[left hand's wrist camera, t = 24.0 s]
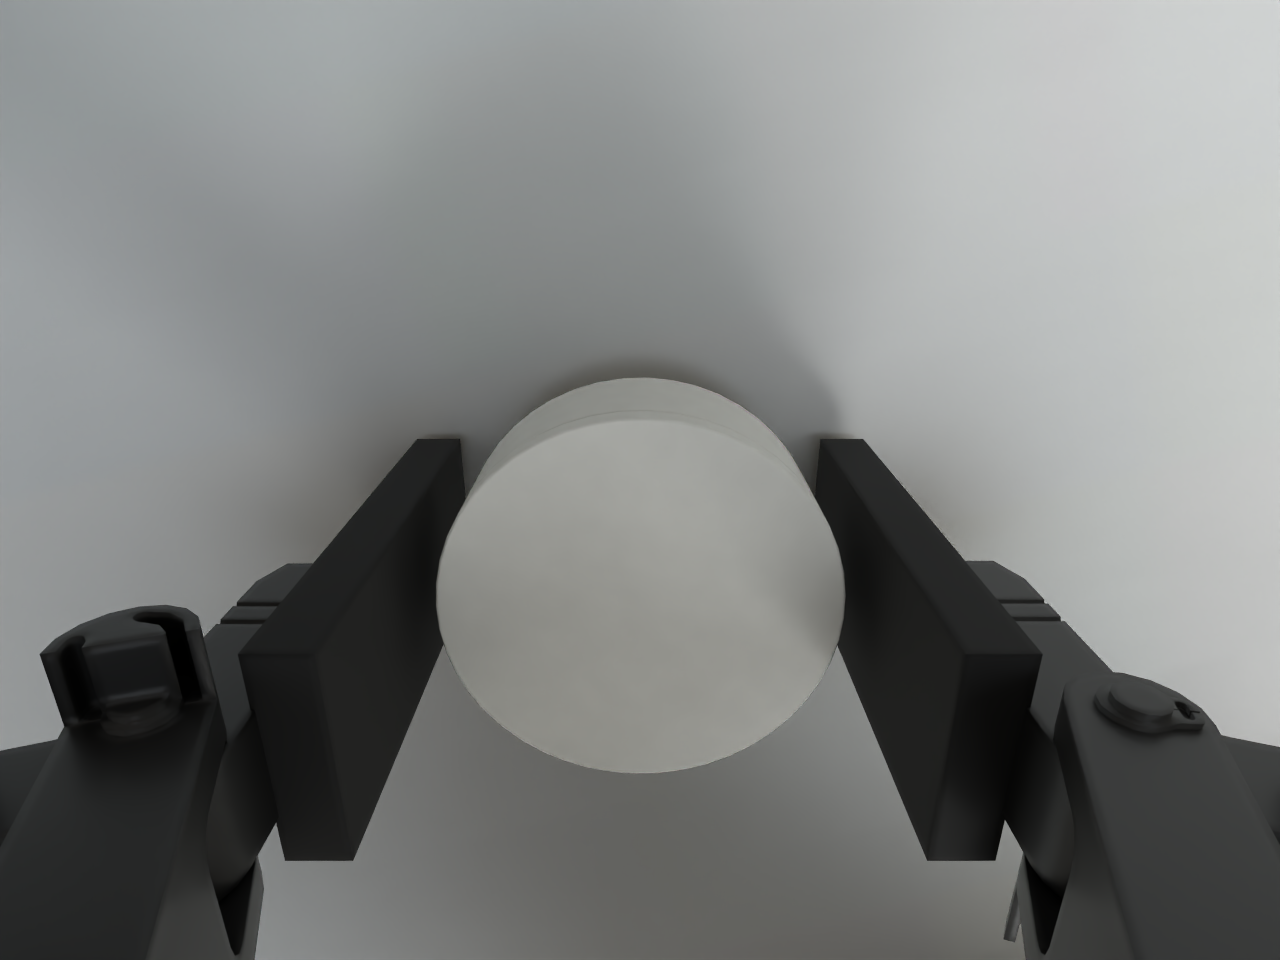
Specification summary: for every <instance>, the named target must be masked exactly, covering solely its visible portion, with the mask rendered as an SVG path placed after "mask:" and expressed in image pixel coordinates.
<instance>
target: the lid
mask: <svg viewBox="0 0 1280 960" xmlns="http://www.w3.org/2000/svg"><path fill="white" fill-rule="evenodd" d="M845 597H846V594H845V580H844V570H843V566H842V562H841V557H840V553H839V549H838V546H837V543H836V541H835V538H834V536H833V533H832V531H831V528H830V526H829V524H828V522H827V520H826V518H825V516H824V515H823V513H822V511H821V509H820V507H819V505H818V503H817V501H816V499H815V498H814V496H813V494H812V492H811V490H810V488H809V486H808V484H807V483H806V481H805V479H804V477H803V475H802V473H801V471H800V470H799V468H798V466H797V464H796V463H795V461H794V459H793V457H792V456H791V454H790V452H789V451H788V450H787V449H786V447H785V446H784V445H783V443H782V442H781V441H780V440H779V438H778V437H777V436H776V435H775V434H774V433H773V432H772V431H771V430H770V429H769V428H768V427H767V426H766V425H765V424H764V423H763V422H762V421H761V420H760V419H758V418H757V417H756V416H754V415H753V414H751V413H750V412H749V411H747V410H746V409H744V408H743V407H742V406H740V405H739V404H737V403H735V402H733V401H731V400H729V399H727V398H725V397H723V396H722V395H720V394H717V393H715V392H712V391H709V390H707V389H704V388H701V387H699V386H696V385H692V384H687V383H683V382H679V381H674V380H667V379H657V378H621V379H615V380H608V381H602V382H597V383H593V384H590V385H587V386H583V387H580V388H577V389H574V390H571V391H569V392H567V393H565V394H562V395H560V396H558V397H556V398H553V399H551V400H550V401H548V402H547V403H545V404H543V405H542V406H540V407H538V408H537V409H535V410H534V411H532V412H531V413H530V414H528V415H527V416H526V417H525V418H523V419H522V420H521V421H520V422H519V423H517V424H516V425H515V426H514V427H513V428H512V429H511V430H510V431H509V432H508V433H507V434H506V436H505V437H504V438H503V439H502V440H501V441H500V442H499V443H498V445H497V446H496V448H495V449H494V451H493V452H492V453H491V455H490V456H489V458H488V459H487V461H486V462H485V464H484V466H483V468H482V470H481V472H480V474H479V475H478V477H477V479H476V481H475V483H474V485H473V487H472V489H471V490H470V492H469V494H468V496H467V498H466V500H465V502H464V504H463V506H462V507H461V509H460V511H459V513H458V515H457V517H456V519H455V521H454V523H453V525H452V527H451V529H450V531H449V533H448V535H447V538H446V541H445V544H444V547H443V550H442V554H441V557H440V560H439V567H438V573H437V580H436V610H437V617H438V623H439V630H440V633H441V636H442V639H443V643H444V646H445V649H446V652H447V655H448V657H449V659H450V661H451V663H452V665H453V667H454V669H455V672H456V674H457V675H458V677H459V678H460V680H461V681H462V683H463V684H464V686H465V688H466V689H467V691H468V692H469V693H470V695H471V696H472V697H473V698H474V699H475V700H476V702H477V703H478V704H479V705H480V706H481V708H482V709H483V710H484V711H485V712H486V713H487V714H488V715H490V716H491V717H492V718H493V719H494V720H495V721H496V722H497V723H498V724H499V725H501V726H502V727H503V728H505V729H506V730H507V731H509V732H510V733H512V734H513V735H514V736H516V737H517V738H519V739H520V740H522V741H523V742H525V743H527V744H529V745H531V746H532V747H534V748H536V749H538V750H540V751H542V752H544V753H546V754H549V755H551V756H554V757H556V758H558V759H561V760H563V761H567V762H570V763H573V764H577V765H580V766H583V767H587V768H593V769H598V770H603V771H609V772H620V773H632V774H640V773H663V772H671V771H678V770H685V769H689V768H693V767H697V766H702V765H706V764H709V763H712V762H714V761H717V760H720V759H723V758H726V757H729V756H731V755H733V754H735V753H737V752H739V751H741V750H743V749H745V748H747V747H750V746H751V745H753V744H754V743H756V742H758V741H759V740H761V739H762V738H764V737H766V736H767V735H769V734H770V733H772V732H773V731H774V730H775V729H777V728H778V727H779V726H780V725H782V724H783V723H784V722H785V721H787V720H788V719H789V718H790V717H791V716H792V715H793V714H794V713H795V712H796V711H797V710H798V709H799V708H800V707H801V706H802V705H803V704H804V703H805V701H806V700H807V699H808V697H809V696H810V695H811V693H812V692H813V691H814V689H815V688H816V687H817V685H818V684H819V682H820V681H821V679H822V677H823V675H824V673H825V672H826V670H827V668H828V666H829V664H830V662H831V660H832V657H833V654H834V652H835V649H836V647H837V644H838V642H839V637H840V633H841V629H842V624H843V620H844V610H845Z"/></svg>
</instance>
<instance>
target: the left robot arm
mask: <svg viewBox="0 0 1280 960" xmlns="http://www.w3.org/2000/svg"><path fill="white" fill-rule="evenodd" d="M815 499H816V501H817V503H818V505H819V507H820V509H821V511H822V513H823V515H824V516H825V518H826V520H827V522H828V524H829V526H830V528H831V531H832V533H833V536H834V538H835V541H836V543H837V546H838V549H839V553H840V557H841V562H842V566H843V570H844V580H845V594H846V597H845V610H844V620H843V624H842V629H841V633H840V637H839V642H838V644H837V645H838V648H839V650H840V653H841V655H842V657H843V660H844V662H845V665H846V667H847V669H848V672H849V674H850V677H851V679H852V681H853V684H854V686H855V689H856V691H857V693H858V696H859V698H860V700H861V703H862V705H863V708H864V710H865V712H866V715H867V717H868V720H869V722H870V724H871V727H872V729H873V732H874V734H875V736H876V739H877V741H878V744H879V746H880V748H881V751H882V753H883V756H884V758H885V760H886V763H887V765H888V768H889V770H890V772H891V775H892V777H893V780H894V782H895V784H896V787H897V789H898V792H899V794H900V796H901V799H902V801H903V804H904V806H905V808H906V811H907V813H908V816H909V818H910V820H911V823H912V825H913V827H914V830H915V832H916V835H917V837H918V839H919V842H920V844H921V847H922V849H923V851H924V854H925V856H926V859H927V861H995V860H996V855H997V851H998V847H999V842H1000V838H1001V834H1002V829H1003V825H1004V821H1005V820H1006V822H1007V824H1008V826H1009V827H1010V829H1011V831H1012V833H1013V834H1014V836H1015V838H1016V840H1017V842H1018V843H1019V845H1020V847H1021V849H1022V850H1023V856H1022V860H1021V864H1020V868H1019V872H1018V876H1017V880H1016V884H1015V888H1014V892H1013V896H1012V900H1011V904H1010V908H1009V913H1008V917H1007V921H1006V926H1005V933H1004V939H1005V940H1009V941H1012V942H1015V939H1016V936H1017V932H1018V928H1019V925H1020V924H1021V927H1022V934H1023V942H1024V949H1025V956H1026V960H1280V747H1276V746H1271V745H1266V744H1261V743H1256V742H1251V741H1246V740H1241V739H1236V738H1231V737H1227V736H1223V735H1221V734H1220V732H1219V730H1218V729H1217V727H1216V725H1215V724H1214V723H1213V722H1212V720H1211V719H1210V718H1209V717H1208V716H1207V714H1206V713H1205V712H1204V711H1203V710H1202V709H1201V708H1200V707H1199V706H1197V705H1196V704H1194V703H1193V702H1191V701H1190V700H1188V699H1187V698H1185V697H1184V696H1182V695H1181V694H1180V693H1178V692H1176V691H1173V690H1171V689H1169V688H1167V687H1164V686H1162V685H1160V684H1158V683H1155V682H1153V681H1151V680H1147V679H1143V678H1139V677H1136V676H1132V675H1128V674H1124V673H1115V672H1112V671H1111V670H1110V669H1109V668H1108V666H1107V665H1106V664H1105V663H1104V662H1103V661H1102V660H1101V659H1100V658H1099V657H1098V656H1097V655H1096V654H1095V653H1094V652H1093V651H1092V650H1091V648H1090V647H1089V646H1088V645H1087V644H1086V643H1085V642H1084V641H1083V640H1082V639H1081V638H1080V637H1079V636H1078V635H1077V634H1076V633H1075V632H1074V631H1073V629H1072V628H1071V627H1070V626H1069V625H1068V624H1067V623H1066V622H1065V621H1061V619H1060V618H1061V617H1060V616H1059V615H1058V614H1057V613H1056V612H1055V610H1054V609H1053V608H1052V607H1051V606H1050V605H1049V604H1044V599H1043V598H1042V597H1041V596H1040V595H1039V594H1038V592H1037V591H1036V590H1035V589H1034V588H1033V587H1032V586H1031V585H1030V584H1029V583H1028V582H1027V581H1026V580H1025V579H1024V578H1022V577H1021V576H1019V575H1017V574H1015V573H1013V572H1012V571H1010V570H1008V569H1006V568H1005V567H1003V566H1001V565H999V564H998V563H996V562H994V561H965V560H964V559H963V558H962V557H961V556H960V554H959V553H958V552H957V551H956V550H955V548H954V547H953V546H952V545H951V544H950V542H949V541H948V540H947V539H946V538H945V536H944V535H943V534H942V533H941V532H940V530H939V529H938V528H937V527H936V526H935V524H934V523H933V522H932V521H931V520H930V519H929V517H928V516H927V515H926V514H925V513H924V511H923V510H922V509H921V508H920V507H919V505H918V504H917V503H916V502H915V501H914V499H913V498H912V497H911V496H910V495H909V493H908V492H907V491H906V490H905V489H904V487H903V486H902V485H901V484H900V483H899V481H898V480H897V479H896V478H895V477H894V475H893V474H892V473H891V472H890V471H889V470H888V468H887V467H886V466H885V465H884V464H883V462H882V461H881V460H880V459H879V458H878V456H877V455H876V454H875V453H874V452H873V450H872V449H871V448H870V447H869V446H868V444H867V443H866V442H865V441H864V440H863V439H820V449H819V460H818V471H817V482H816V493H815ZM464 502H465V489H464V478H463V467H462V456H461V445H460V439H417V440H416V441H415V443H414V444H413V445H412V446H411V447H410V448H409V450H408V451H407V452H406V453H405V454H404V456H403V457H402V458H401V459H400V460H399V462H398V463H397V464H396V465H395V466H394V468H393V469H392V470H391V471H390V472H389V474H388V475H387V476H386V477H385V478H384V480H383V481H382V482H381V483H380V484H379V486H378V487H377V488H376V489H375V490H374V492H373V493H372V494H371V495H370V496H369V498H368V499H367V500H366V501H365V502H364V503H363V505H362V506H361V507H360V508H359V509H358V511H357V512H356V513H355V514H354V515H353V517H352V518H351V519H350V520H349V521H348V523H347V524H346V525H345V526H344V527H343V529H342V530H341V531H340V532H339V533H338V535H337V536H336V537H335V538H334V539H333V541H332V542H331V543H330V544H329V545H328V547H327V548H326V549H325V550H324V551H323V553H322V554H321V555H320V556H319V557H318V558H317V560H316V561H315V562H314V563H313V564H286V565H284V566H283V567H281V568H279V569H277V570H276V571H274V572H272V573H270V574H269V575H267V576H265V577H263V578H262V579H260V580H258V581H256V582H255V584H254V585H253V586H252V587H251V588H250V589H249V590H248V591H247V592H246V593H245V594H244V595H243V596H242V597H241V598H240V600H239V601H238V602H237V606H233V607H232V608H231V609H230V610H229V611H228V612H227V613H226V614H225V615H224V617H223V618H222V619H221V623H220V624H216V625H215V626H214V627H213V628H212V629H211V630H210V631H209V633H208V634H207V635H206V636H205V637H203V633H202V629H201V625H200V621H199V617H198V616H197V615H195V614H194V613H192V612H191V611H190V610H188V609H187V608H181V607H175V606H169V605H158V606H142V607H136V608H131V609H127V610H122V611H118V612H113V613H109V614H106V615H104V616H101V617H98V618H96V619H93V620H91V621H88V622H85V623H83V624H80V625H78V626H77V627H75V628H73V629H71V630H70V631H68V632H66V633H64V634H63V635H61V636H59V637H57V638H56V639H55V640H54V641H53V642H52V643H51V644H50V645H49V646H47V647H46V648H45V649H44V650H43V651H42V652H41V653H40V657H41V660H42V663H43V665H44V668H45V671H46V674H47V677H48V680H49V683H50V686H51V689H52V692H53V695H54V698H55V700H56V703H57V706H58V709H59V712H60V715H61V718H62V721H63V724H64V728H63V730H62V732H61V734H60V736H59V738H58V739H56V740H52V741H48V742H43V743H37V744H32V745H27V746H22V747H17V748H12V749H7V750H2V751H0V960H254V959H255V951H256V944H257V936H258V929H259V921H260V914H261V906H262V899H263V892H264V886H263V879H262V872H261V868H260V864H259V860H258V856H257V855H258V854H259V852H260V850H261V848H262V846H263V845H264V843H265V841H266V839H267V838H268V836H269V834H270V832H271V830H272V829H273V827H274V825H275V823H277V828H278V832H279V836H280V841H281V845H282V849H283V854H284V858H285V861H353V860H354V857H355V855H356V852H357V850H358V848H359V845H360V843H361V840H362V838H363V836H364V833H365V831H366V828H367V826H368V824H369V821H370V819H371V816H372V814H373V812H374V809H375V807H376V804H377V802H378V800H379V797H380V795H381V793H382V790H383V788H384V785H385V783H386V781H387V778H388V776H389V773H390V771H391V769H392V766H393V764H394V761H395V759H396V757H397V754H398V752H399V749H400V747H401V745H402V742H403V740H404V737H405V735H406V733H407V730H408V728H409V725H410V723H411V721H412V718H413V716H414V713H415V711H416V709H417V706H418V704H419V701H420V699H421V697H422V694H423V692H424V689H425V687H426V685H427V682H428V680H429V677H430V675H431V673H432V670H433V668H434V665H435V663H436V661H437V658H438V656H439V654H440V651H441V649H442V646H443V644H444V643H443V639H442V636H441V633H440V630H439V623H438V617H437V610H436V580H437V573H438V567H439V560H440V557H441V554H442V550H443V547H444V544H445V541H446V538H447V535H448V533H449V531H450V529H451V527H452V525H453V523H454V521H455V519H456V517H457V515H458V513H459V511H460V509H461V507H462V506H463V504H464Z"/></svg>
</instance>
